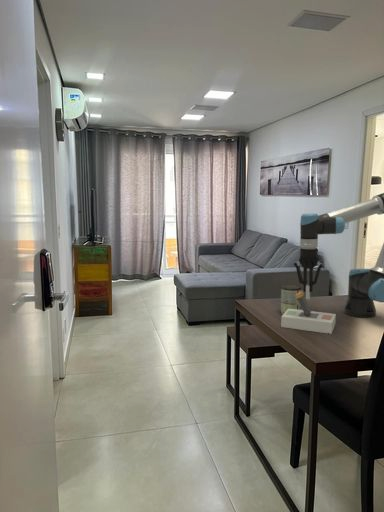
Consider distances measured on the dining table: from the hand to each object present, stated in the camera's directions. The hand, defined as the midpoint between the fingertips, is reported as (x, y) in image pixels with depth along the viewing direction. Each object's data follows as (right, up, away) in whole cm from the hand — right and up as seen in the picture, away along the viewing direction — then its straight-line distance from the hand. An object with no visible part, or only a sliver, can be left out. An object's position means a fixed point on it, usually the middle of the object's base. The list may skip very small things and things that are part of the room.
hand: (307, 298), depth 176 cm
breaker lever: (+1, -7, +1) cm, 7 cm away
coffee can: (-2, -10, +22) cm, 24 cm away
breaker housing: (+1, -13, +1) cm, 13 cm away
